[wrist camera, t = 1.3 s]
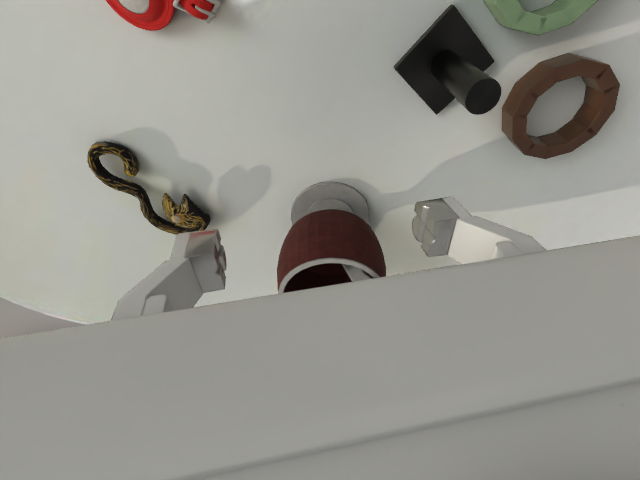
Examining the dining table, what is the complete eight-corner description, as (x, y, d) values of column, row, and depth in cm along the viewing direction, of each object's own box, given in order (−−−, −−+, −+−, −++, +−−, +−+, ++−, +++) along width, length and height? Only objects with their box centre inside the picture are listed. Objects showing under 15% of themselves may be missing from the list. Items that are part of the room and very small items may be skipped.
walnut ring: (575, 31, 37) (594, 35, 34) (615, 100, 41) (633, 109, 39) (484, 109, 42) (494, 118, 40) (528, 162, 47) (539, 173, 44)
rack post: (450, 4, 35) (501, 19, 25) (491, 59, 39) (550, 92, 28) (393, 66, 39) (416, 101, 29) (434, 112, 42) (469, 157, 32)
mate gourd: (320, 260, 59) (318, 364, 44) (268, 207, 52) (244, 309, 36) (398, 219, 53) (429, 322, 38) (352, 152, 46) (366, 246, 31)
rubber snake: (64, 164, 42) (127, 131, 40) (81, 149, 46) (140, 117, 44) (162, 257, 53) (215, 235, 51) (170, 239, 56) (220, 217, 54)
